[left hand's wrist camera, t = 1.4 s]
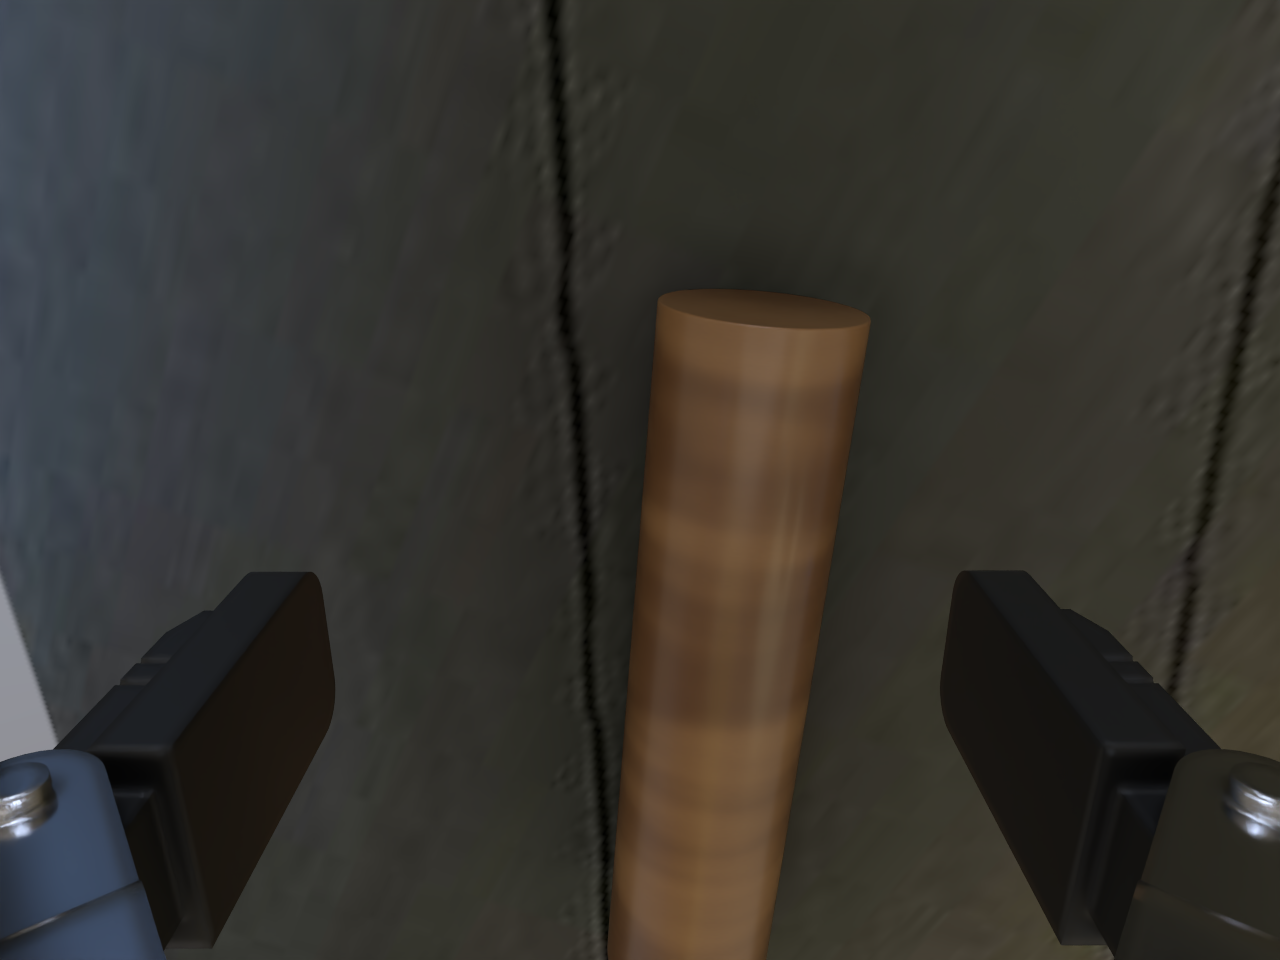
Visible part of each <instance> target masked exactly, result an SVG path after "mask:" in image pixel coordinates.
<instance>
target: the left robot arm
mask: <svg viewBox="0 0 1280 960" xmlns="http://www.w3.org/2000/svg"><path fill="white" fill-rule="evenodd" d="M1132 657H1133V656H1132V655H1131V654H1130V653H1129V652H1128V651H1127V650H1126V649H1125V648H1124V647H1123V646H1122V645H1121V644H1120V643H1119V642H1118V641H1117V640H1116V639H1115V638H1114V637H1113V636H1112V635H1111V633H1110V632H1109V631H1107V630H1106V629H1104V628H1102V627H1100V626H1099V625H1097V624H1095V623H1093V622H1092V621H1090V620H1088V619H1086V618H1085V617H1083V616H1081V615H1079V614H1078V613H1076V612H1074V611H1073V610H1071V609H1060V608H1059V607H1058V606H1057V605H1056V604H1055V602H1054V601H1053V600H1052V599H1051V598H1050V597H1049V596H1048V595H1047V594H1046V592H1045V591H1044V590H1043V589H1042V588H1041V587H1040V586H1039V585H1038V584H1037V582H1036V581H1035V580H1034V579H1033V578H1032V577H1031V576H1030V575H1029V574H1028V573H1027V572H1025V571H962V572H960V573H959V575H958V576H957V578H956V581H955V584H954V588H953V594H952V601H951V608H950V615H949V622H948V629H947V636H946V644H945V651H944V658H943V665H942V672H941V681H940V696H941V706H942V711H943V716H944V720H945V723H946V726H947V728H948V731H949V733H950V734H951V736H952V738H953V740H954V742H955V744H956V746H957V748H958V750H959V752H960V753H961V755H962V757H963V759H964V761H965V763H966V765H967V767H968V769H969V771H970V773H971V774H972V776H973V778H974V780H975V782H976V784H977V786H978V788H979V790H980V792H981V794H982V795H983V797H984V799H985V801H986V803H987V805H988V807H989V809H990V811H991V813H992V814H993V816H994V818H995V820H996V822H997V824H998V826H999V828H1000V830H1001V832H1002V834H1003V835H1004V837H1005V839H1006V841H1007V843H1008V845H1009V847H1010V849H1011V851H1012V853H1013V854H1014V856H1015V858H1016V860H1017V862H1018V864H1019V866H1020V868H1021V870H1022V872H1023V874H1024V875H1025V877H1026V879H1027V881H1028V883H1029V885H1030V887H1031V889H1032V891H1033V893H1034V895H1035V896H1036V898H1037V900H1038V902H1039V904H1040V906H1041V908H1042V910H1043V912H1044V914H1045V915H1046V917H1047V919H1048V921H1049V923H1050V925H1051V927H1052V929H1053V931H1054V933H1055V935H1056V936H1057V938H1058V940H1059V942H1060V944H1061V945H1108V947H1109V949H1110V950H1111V952H1112V954H1113V956H1114V957H1115V958H1114V960H1280V762H1278V761H1275V760H1273V759H1270V758H1266V757H1263V756H1259V755H1256V754H1251V753H1246V752H1242V751H1234V750H1226V749H1221V748H1220V747H1219V746H1218V745H1217V744H1216V743H1215V742H1214V741H1213V740H1212V739H1211V738H1210V737H1209V736H1208V735H1207V734H1206V733H1205V732H1204V730H1203V729H1202V728H1201V727H1200V726H1199V725H1198V724H1197V723H1196V722H1195V721H1194V720H1193V719H1192V718H1191V717H1190V716H1189V715H1188V714H1187V713H1186V712H1185V711H1184V710H1183V709H1182V708H1181V706H1180V705H1179V704H1178V703H1177V702H1176V701H1175V700H1174V699H1173V698H1172V697H1171V696H1170V695H1169V694H1168V693H1167V692H1166V691H1165V690H1164V689H1163V688H1162V687H1161V686H1160V685H1159V684H1158V683H1153V677H1152V676H1151V675H1150V674H1149V673H1148V672H1147V671H1146V670H1145V669H1144V668H1143V667H1142V666H1141V665H1140V664H1139V663H1138V662H1133V659H1132ZM120 681H121V682H120V685H115V686H114V687H113V688H112V689H111V690H110V691H109V692H108V693H107V694H106V695H105V696H104V697H103V698H102V699H101V700H100V701H99V702H98V703H97V705H96V706H95V707H94V708H93V709H92V710H91V711H90V712H89V713H88V714H87V715H86V716H85V717H84V718H83V719H82V720H81V721H80V722H79V723H78V724H77V725H76V726H75V727H74V728H73V729H72V730H71V731H70V732H69V733H68V734H67V736H66V737H65V738H64V739H63V740H62V741H61V742H60V743H59V744H58V745H57V746H56V747H55V748H54V749H53V750H46V751H38V752H34V753H29V754H24V755H21V756H17V757H14V758H10V759H7V760H5V761H2V762H0V960H166V958H165V955H164V950H165V948H213V946H214V944H215V942H216V940H217V938H218V936H219V934H220V932H221V931H222V929H223V927H224V925H225V923H226V921H227V919H228V917H229V916H230V914H231V912H232V910H233V908H234V906H235V904H236V902H237V900H238V899H239V897H240V895H241V893H242V891H243V889H244V887H245V885H246V883H247V882H248V880H249V878H250V876H251V874H252V872H253V870H254V868H255V867H256V865H257V863H258V861H259V859H260V857H261V855H262V853H263V851H264V850H265V848H266V846H267V844H268V842H269V840H270V838H271V836H272V835H273V833H274V831H275V829H276V827H277V825H278V823H279V821H280V819H281V818H282V816H283V814H284V812H285V810H286V808H287V806H288V804H289V803H290V801H291V799H292V797H293V795H294V793H295V791H296V789H297V787H298V786H299V784H300V782H301V780H302V778H303V776H304V774H305V772H306V771H307V769H308V767H309V765H310V763H311V761H312V759H313V757H314V755H315V754H316V752H317V750H318V748H319V746H320V744H321V742H322V740H323V739H324V737H325V735H326V733H327V731H328V729H329V726H330V723H331V719H332V715H333V710H334V703H335V678H334V671H333V664H332V657H331V650H330V643H329V636H328V629H327V622H326V615H325V608H324V601H323V594H322V588H321V585H320V582H319V579H318V578H317V576H316V575H315V574H314V573H312V572H250V573H248V574H247V575H246V576H245V577H244V578H243V579H242V580H241V581H240V582H239V583H238V584H237V586H236V587H235V588H234V589H233V590H232V591H231V592H230V593H229V594H228V595H227V597H226V598H225V599H224V600H223V601H222V602H221V603H220V604H219V605H218V606H217V608H216V609H215V610H214V611H203V612H201V613H199V614H198V615H196V616H194V617H192V618H191V619H189V620H187V621H185V622H184V623H182V624H180V625H178V626H177V627H175V628H173V629H172V630H170V631H168V632H166V633H165V634H164V635H163V636H162V637H161V638H160V639H159V640H158V641H157V642H156V644H155V645H154V646H153V647H152V648H151V649H150V650H149V651H148V652H147V653H146V654H145V655H144V656H143V657H142V658H141V663H136V664H135V665H134V666H133V667H132V668H131V669H130V670H129V671H128V672H127V674H126V675H125V676H124V677H123V678H122V679H121V680H120Z"/></svg>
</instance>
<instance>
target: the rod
mask: <svg viewBox="0 0 1280 960" xmlns="http://www.w3.org/2000/svg"><path fill="white" fill-rule="evenodd" d="M870 324H871V320H870V317H869V316H868V315H867V314H865V313H864V312H862V311H860V310H857V309H855V308H852V307H849V306H846V305H843V304H839V303H835V302H831V301H826V300H821V299H816V298H811V297H805V296H798V295H791V294H783V293H775V292H765V291H753V290H737V289H693V290H682V291H675V292H670V293H667V294H664V295H662V296H660V297H659V299H658V303H657V316H656V329H655V342H654V355H653V368H652V380H651V393H650V406H649V419H648V432H647V445H646V458H645V470H644V483H643V496H642V509H641V522H640V535H639V547H638V560H637V573H636V586H635V599H634V612H633V625H632V637H631V650H630V663H629V676H628V689H627V702H626V715H625V727H624V740H623V753H622V766H621V779H620V792H619V804H618V817H617V830H616V843H615V856H614V869H613V882H612V894H611V907H610V920H609V933H608V946H607V948H608V959H609V960H766V957H767V951H768V945H769V939H770V933H771V926H772V920H773V914H774V908H775V902H776V896H777V890H778V884H779V878H780V872H781V866H782V859H783V853H784V847H785V841H786V835H787V829H788V823H789V817H790V811H791V805H792V799H793V793H794V786H795V780H796V774H797V768H798V762H799V756H800V750H801V744H802V738H803V732H804V726H805V720H806V713H807V707H808V701H809V695H810V689H811V683H812V677H813V671H814V665H815V659H816V653H817V646H818V640H819V634H820V628H821V622H822V616H823V610H824V604H825V598H826V592H827V586H828V580H829V573H830V567H831V561H832V555H833V549H834V543H835V537H836V531H837V525H838V519H839V513H840V506H841V500H842V494H843V488H844V482H845V476H846V470H847V464H848V458H849V452H850V446H851V440H852V433H853V427H854V421H855V415H856V409H857V403H858V397H859V391H860V385H861V379H862V373H863V366H864V360H865V354H866V348H867V342H868V336H869V330H870Z"/></svg>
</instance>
